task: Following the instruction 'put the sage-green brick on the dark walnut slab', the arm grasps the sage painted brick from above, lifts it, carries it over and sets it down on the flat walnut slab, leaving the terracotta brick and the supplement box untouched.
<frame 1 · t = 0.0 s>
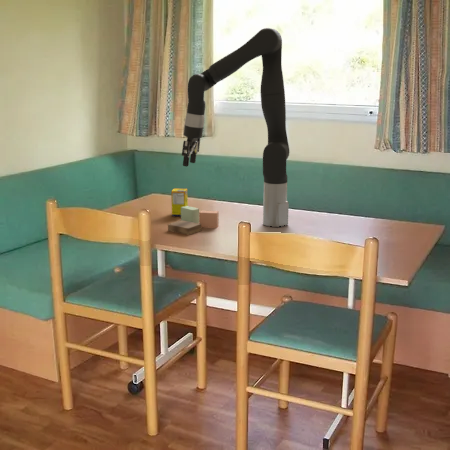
hand: (189, 164, 258), 22 cm above the table, tool pointing down, fingers open, 8 cm apart
walnut slab: (184, 231, 245), on the table
supplement box: (179, 215, 269), on the table
sage brick: (190, 222, 257), on the table
terracotta brick: (208, 226, 251), on the table
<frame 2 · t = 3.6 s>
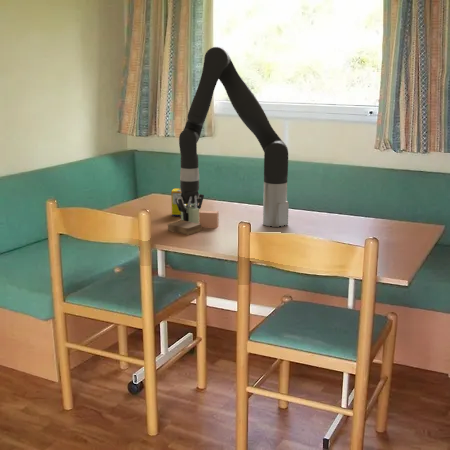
hand: (190, 220, 257), 1 cm above the table, tool pointing down, fingers closed on sage brick, 3 cm apart
sage brick: (190, 222, 257), on the table, touching gripper
everything else where it was.
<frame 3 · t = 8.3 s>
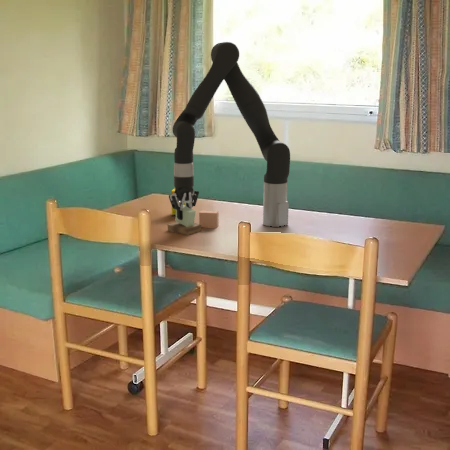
hand: (184, 218, 244), 5 cm above the table, tool pointing down, fingers closed on sage brick, 3 cm apart
sage brick: (184, 223, 244), point 3 cm above the table, tilted 10°, touching gripper
everything else where it was.
when the fingers open (5 cm above the table, at t = 9.0 s): sage brick stays where it is, resting on walnut slab.
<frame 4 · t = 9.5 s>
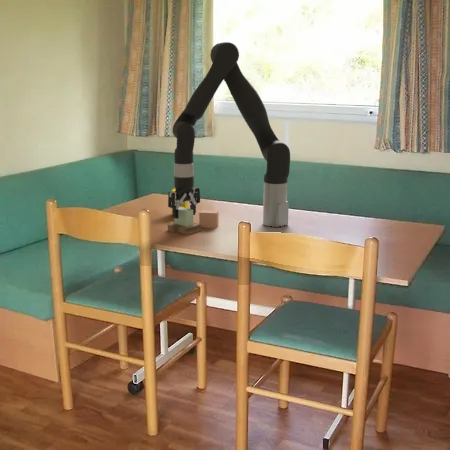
hand: (184, 216, 244), 6 cm above the table, tool pointing down, fingers open, 8 cm apart
walnut slab: (184, 231, 245), on the table, touching sage brick
sage brick: (183, 224, 244), point 3 cm above the table, touching walnut slab
everything else where it was.
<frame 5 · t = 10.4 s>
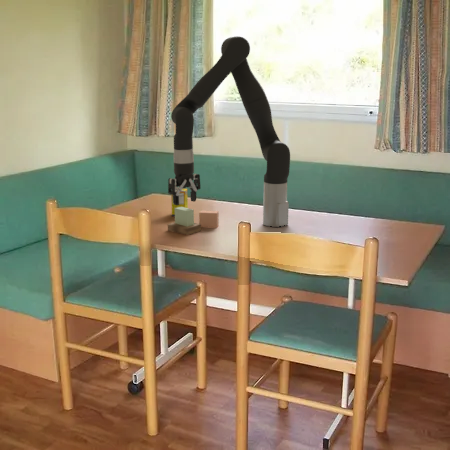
hand: (185, 203, 242), 11 cm above the table, tool pointing down, fingers open, 8 cm apart
nothing on the table moved.
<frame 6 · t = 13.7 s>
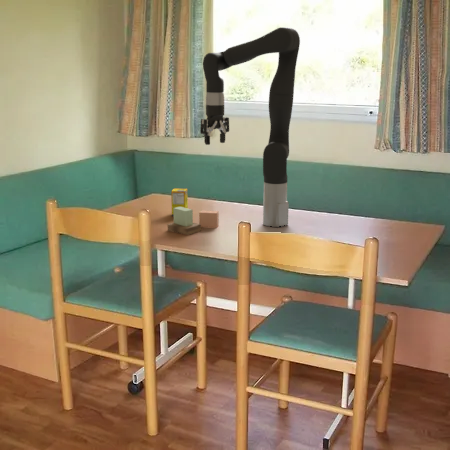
hand: (215, 143, 262), 30 cm above the table, tool pointing down, fingers open, 8 cm apart
nothing on the table moved.
at the end: sage brick inside the target area on the walnut slab (0.7 cm from its centre), point 3.0 cm above the walnut slab's base; sage brick tilted 0°; terracotta brick moved 0.1 cm from its start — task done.
